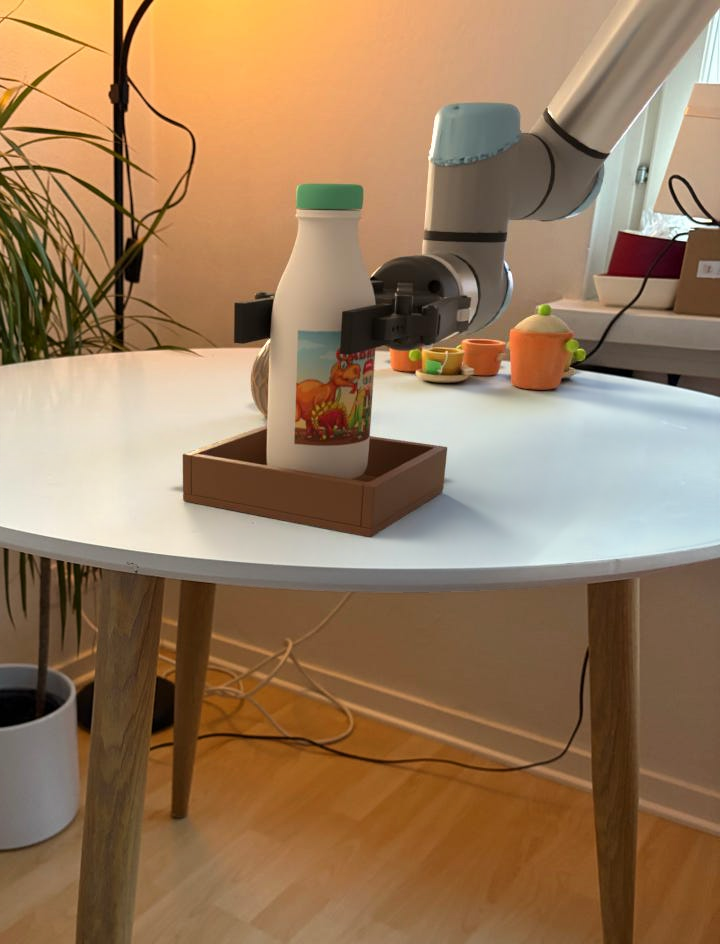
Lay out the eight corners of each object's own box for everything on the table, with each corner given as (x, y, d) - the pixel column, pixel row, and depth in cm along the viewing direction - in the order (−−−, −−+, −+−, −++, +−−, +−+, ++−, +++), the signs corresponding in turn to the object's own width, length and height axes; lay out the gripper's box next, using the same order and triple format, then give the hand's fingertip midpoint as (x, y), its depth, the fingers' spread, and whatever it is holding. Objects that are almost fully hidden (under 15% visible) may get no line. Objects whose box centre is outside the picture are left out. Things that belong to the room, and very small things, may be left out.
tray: (443, 491, 78) (447, 446, 76) (370, 537, 67) (374, 486, 66) (272, 463, 85) (273, 422, 84) (182, 500, 75) (182, 454, 73)
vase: (236, 414, 104) (237, 327, 100) (284, 406, 108) (287, 323, 104) (280, 425, 99) (283, 335, 96) (329, 416, 103) (333, 330, 100)
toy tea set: (581, 374, 130) (593, 297, 126) (585, 394, 117) (598, 309, 113) (385, 363, 137) (390, 289, 133) (366, 381, 123) (371, 300, 119)
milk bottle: (253, 479, 73) (260, 182, 65) (280, 455, 80) (289, 183, 71) (356, 489, 71) (376, 183, 63) (375, 463, 78) (395, 184, 69)
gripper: (531, 357, 81) (427, 401, 64) (311, 336, 91) (168, 369, 73) (544, 260, 78) (438, 278, 61) (315, 249, 88) (167, 261, 70)
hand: (291, 328), depth 67 cm, fingers closed on milk bottle, 8 cm apart
